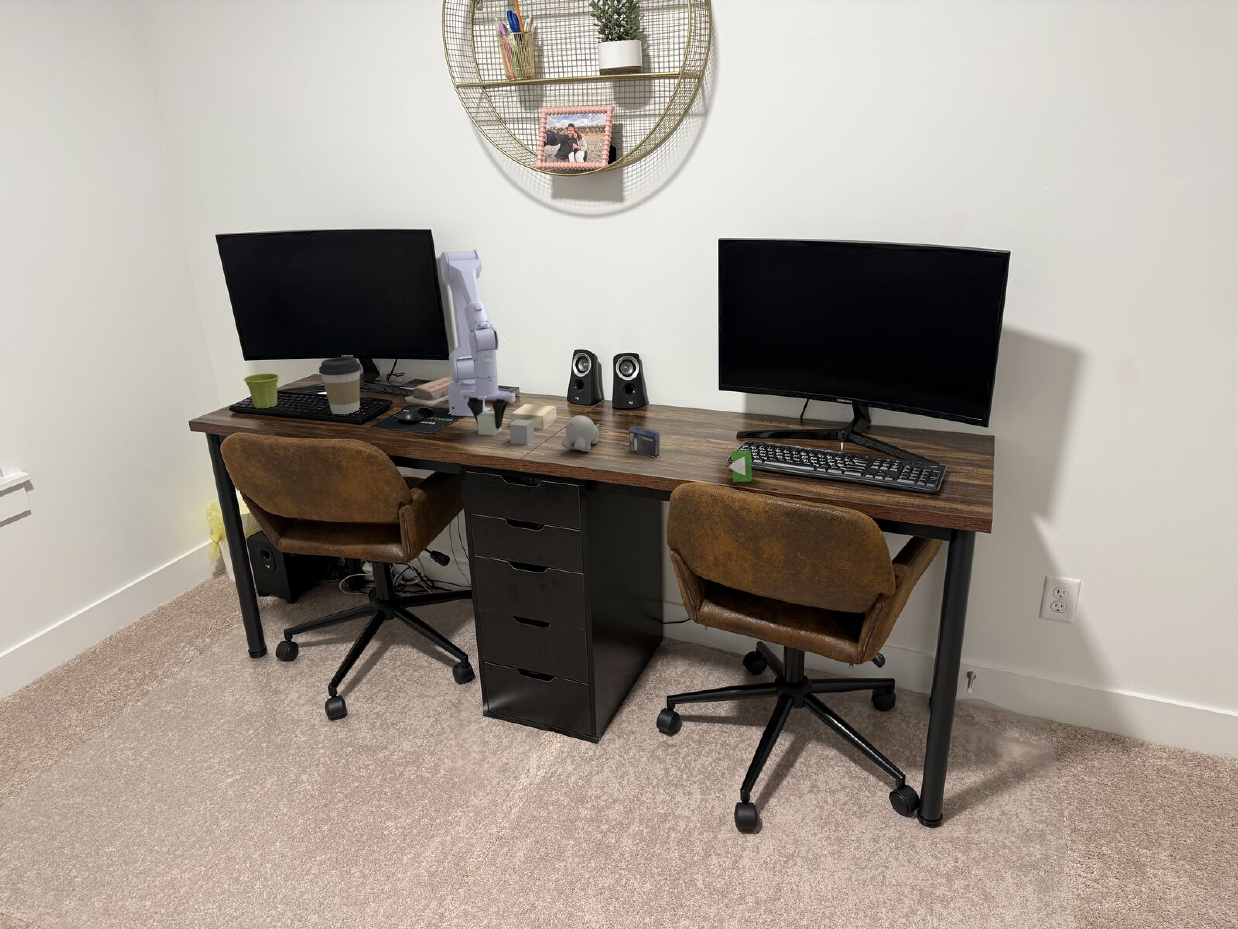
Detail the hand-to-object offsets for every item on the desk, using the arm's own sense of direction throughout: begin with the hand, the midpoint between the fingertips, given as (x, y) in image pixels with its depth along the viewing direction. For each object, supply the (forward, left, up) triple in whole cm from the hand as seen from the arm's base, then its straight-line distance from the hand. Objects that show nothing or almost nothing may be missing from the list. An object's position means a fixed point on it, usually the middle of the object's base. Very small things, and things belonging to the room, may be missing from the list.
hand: (489, 426), depth 221 cm
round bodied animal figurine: (+28, -7, -2) cm, 29 cm away
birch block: (+8, +10, -2) cm, 13 cm away
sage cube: (0, 0, -2) cm, 2 cm away
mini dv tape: (+43, -7, -2) cm, 44 cm away
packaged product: (-29, +29, -2) cm, 41 cm away
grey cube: (+11, -5, -2) cm, 12 cm away
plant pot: (-74, +8, -2) cm, 74 cm away
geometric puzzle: (+68, -19, -2) cm, 71 cm away
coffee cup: (-47, +7, -2) cm, 48 cm away
